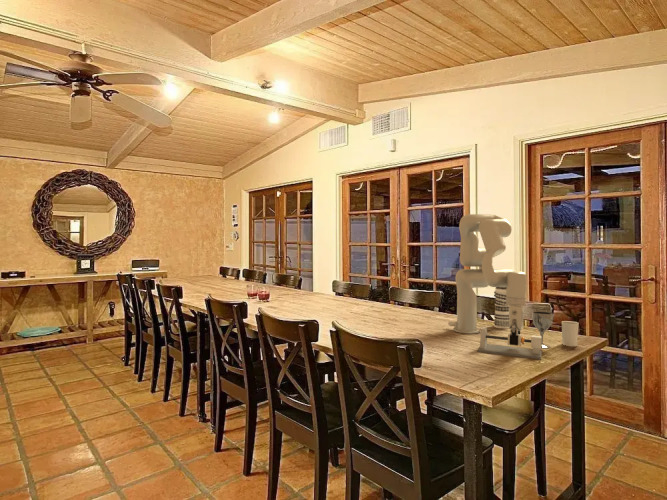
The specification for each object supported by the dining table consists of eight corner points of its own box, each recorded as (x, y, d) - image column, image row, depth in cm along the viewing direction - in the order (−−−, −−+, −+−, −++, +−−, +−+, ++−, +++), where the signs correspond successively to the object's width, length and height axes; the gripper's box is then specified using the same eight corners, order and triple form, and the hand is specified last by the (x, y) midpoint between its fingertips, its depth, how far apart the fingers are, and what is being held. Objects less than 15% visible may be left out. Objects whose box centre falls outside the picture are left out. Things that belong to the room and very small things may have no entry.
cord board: (477, 351, 182) (477, 330, 182) (482, 345, 193) (482, 325, 192) (540, 359, 171) (541, 336, 171) (542, 352, 182) (542, 330, 181)
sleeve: (507, 344, 180) (507, 335, 180) (508, 342, 184) (508, 333, 184) (520, 346, 178) (520, 336, 178) (521, 343, 182) (521, 334, 181)
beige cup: (580, 347, 191) (580, 324, 190) (563, 346, 192) (564, 323, 192) (575, 343, 197) (575, 321, 197) (559, 342, 198) (559, 320, 198)
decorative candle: (508, 325, 236) (509, 279, 235) (514, 329, 227) (515, 281, 226) (491, 324, 237) (492, 279, 236) (496, 328, 228) (496, 281, 227)
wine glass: (549, 344, 194) (550, 311, 194) (553, 349, 187) (554, 314, 186) (530, 343, 197) (531, 310, 196) (533, 347, 189) (534, 313, 188)
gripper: (524, 305, 171) (523, 348, 172) (527, 299, 186) (526, 338, 187) (503, 303, 174) (502, 345, 175) (508, 297, 190) (507, 336, 190)
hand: (514, 342), depth 181 cm, fingers open, 9 cm apart
